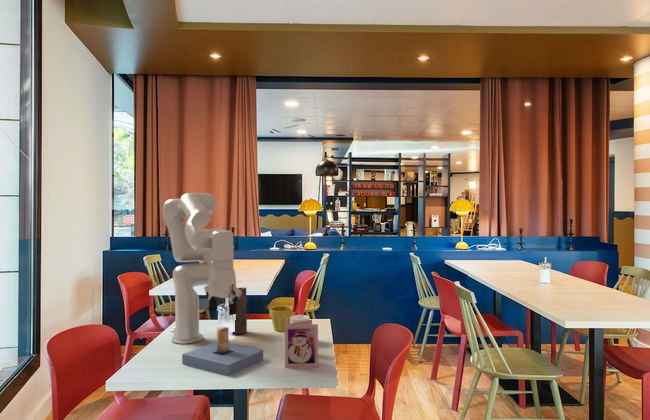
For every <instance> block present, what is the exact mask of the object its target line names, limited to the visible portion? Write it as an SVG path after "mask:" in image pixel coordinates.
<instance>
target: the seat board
mask: <svg viewBox="0 0 650 420" xmlns="http://www.w3.org/2000/svg"><path fill="white" fill-rule="evenodd" d="M181 356H182V358H181V359H182V361H181V363H182V365H185V366H189V367H192V368H196V369H200V370H205V371H207V372H212V373H215V374H219V375H224V376H227V377H229V376H231V375H234V374H235V373H237V372H240V371H242V370H244V369H247V368H248V367H250V366H251V367H252V366H253V365H255V364H257V363H259V362H261V361H263V360H264V350H263V349H259V348H256V347H255V348H254V347H249V346H246V345H240V344H237V343H236V344H235V343H230V342H229V354H226V355H224V356H223V355H218V354H217V341H214V342H212V343H209V344H206V345H203V346H201V347H198V348H196V349H191V350H190V351H187V352H184V353H182V354H181Z"/></svg>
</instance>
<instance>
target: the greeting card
mask: <svg viewBox="0 0 650 420" xmlns="http://www.w3.org/2000/svg"><path fill="white" fill-rule="evenodd" d="M284 368H285V369H292V368H295V369H297V368H299V369H300V368H301V369H302V368H304V369H306V368H308V369H309V368H314V369H315V368H317V369H318V368H319V324H317V323H314V324H313V319H309V320H307V321H301V322H296V323H291V324H285V331H284Z"/></svg>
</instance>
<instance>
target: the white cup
mask: <svg viewBox="0 0 650 420" xmlns="http://www.w3.org/2000/svg"><path fill="white" fill-rule="evenodd" d="M307 320H310V317H309V315H305V314H295V315H292V316H291V317H290V324H291V323H296V322H301V321H307Z"/></svg>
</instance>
